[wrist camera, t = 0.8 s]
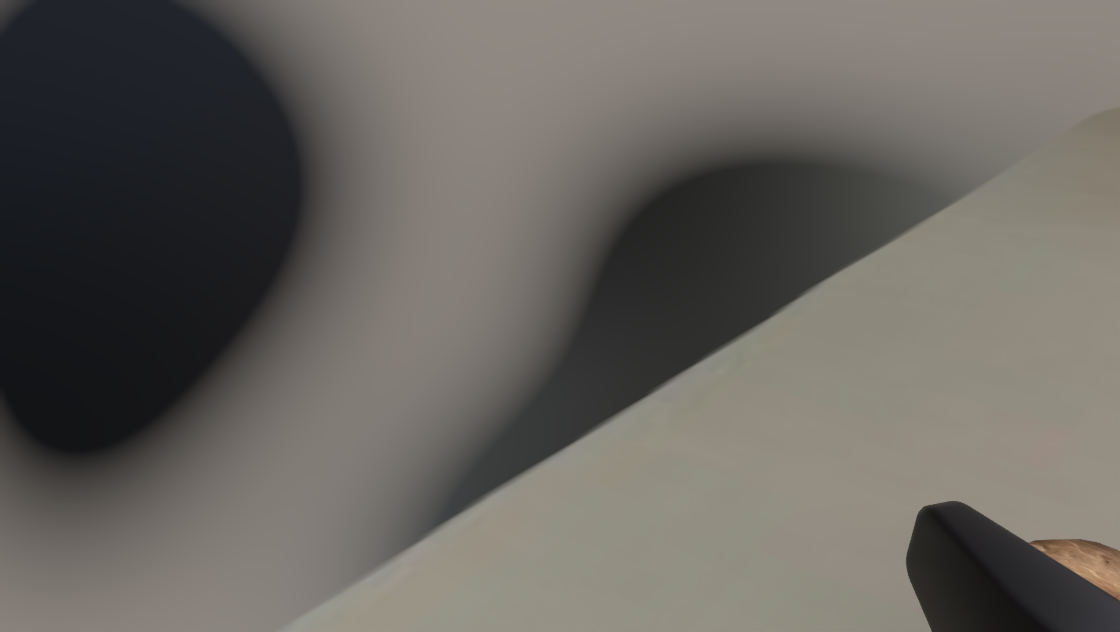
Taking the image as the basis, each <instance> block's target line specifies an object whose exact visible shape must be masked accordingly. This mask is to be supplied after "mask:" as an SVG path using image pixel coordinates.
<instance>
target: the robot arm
mask: <svg viewBox="0 0 1120 632" xmlns="http://www.w3.org/2000/svg"><path fill="white" fill-rule="evenodd" d="M906 566H907V572H908V576H909V579H910V581H911V584H912V586H913V588H914V591H915V593H916V595H917V598H918V600H919V602H920V605H921V607H922V609H923V612H924V614H925V616H926V619H927V621H928V623H929V626H930V628H931V630H932V632H1120V600H1118V599H1117V598H1115V597H1114V596H1112V595H1110V594H1109V593H1107V592H1106V591H1104V590H1102V589H1101V588H1099V587H1098V586H1096V585H1094V584H1093V583H1091V582H1090V581H1088V580H1086V579H1085V578H1083V577H1082V576H1080V575H1078V574H1077V573H1075V572H1074V571H1072V570H1070V569H1069V568H1067V567H1066V566H1064V565H1062V564H1061V563H1059V562H1058V561H1056V560H1054V559H1053V558H1051V557H1050V556H1048V555H1046V554H1045V553H1043V552H1042V551H1040V550H1038V549H1037V548H1035V547H1034V546H1032V545H1030V544H1029V543H1027V542H1026V541H1024V540H1022V539H1021V538H1019V537H1018V536H1016V535H1014V534H1013V533H1011V532H1010V531H1008V530H1006V529H1005V528H1003V527H1002V526H1000V525H998V524H997V523H995V522H994V521H992V520H990V519H989V518H987V517H986V516H984V515H982V514H981V513H979V512H978V511H976V510H974V509H973V508H971V507H970V506H968V505H966V504H964V503H961V502H958V501H949V502H944V503H938V504H933V505H928V506H925V507H923V508H922V509H921V510H920V511H919V513H918V515H917V518H916V522H915V526H914V529H913V533H912V537H911V541H910V544H909V548H908V552H907V556H906Z"/></svg>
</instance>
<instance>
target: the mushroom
mask: <svg viewBox="0 0 1120 632" xmlns="http://www.w3.org/2000/svg"><path fill="white" fill-rule="evenodd" d="M1029 544H1030V545H1032V546H1034V547H1035V548H1037V549H1038V550H1040V551H1042V552H1043V553H1045V554H1046V555H1048V556H1050V557H1051V558H1053V559H1054V560H1056V561H1058V562H1059V563H1061V564H1062V565H1064V566H1066V567H1067V568H1069V569H1070V570H1072V571H1074V572H1075V573H1077V574H1078V575H1080V576H1082V577H1083V578H1085V579H1086V580H1088V581H1090V582H1091V583H1093V584H1094V585H1096V586H1098V587H1099V588H1101V589H1102V590H1104V591H1106V592H1107V593H1109V594H1110V595H1112V596H1114V597H1115V598H1117V599H1118V600H1120V551H1118V550H1116V549H1114V548H1111V547H1108V546H1105V545H1103V544H1100V543H1097V542H1092V541H1086V540H1081V539H1072V540H1035V541H1032V542H1030V543H1029Z"/></svg>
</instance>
